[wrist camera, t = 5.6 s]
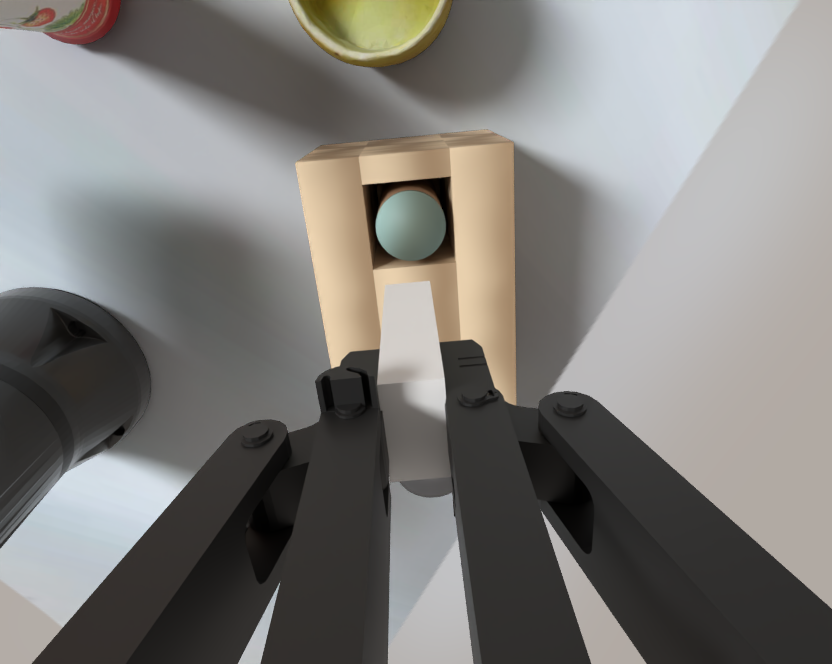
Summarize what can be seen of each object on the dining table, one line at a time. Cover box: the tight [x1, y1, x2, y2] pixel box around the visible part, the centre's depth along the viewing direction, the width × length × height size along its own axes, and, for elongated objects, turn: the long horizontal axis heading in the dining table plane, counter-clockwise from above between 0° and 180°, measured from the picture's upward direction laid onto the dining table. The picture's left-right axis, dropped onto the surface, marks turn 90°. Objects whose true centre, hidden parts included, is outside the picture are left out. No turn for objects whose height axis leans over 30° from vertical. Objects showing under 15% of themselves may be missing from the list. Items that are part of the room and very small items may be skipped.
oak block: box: [295, 130, 516, 405], centre depth 38 cm, size 12×20×10 cm, turn 5°
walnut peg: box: [376, 178, 446, 261], centre depth 34 cm, size 4×4×9 cm
